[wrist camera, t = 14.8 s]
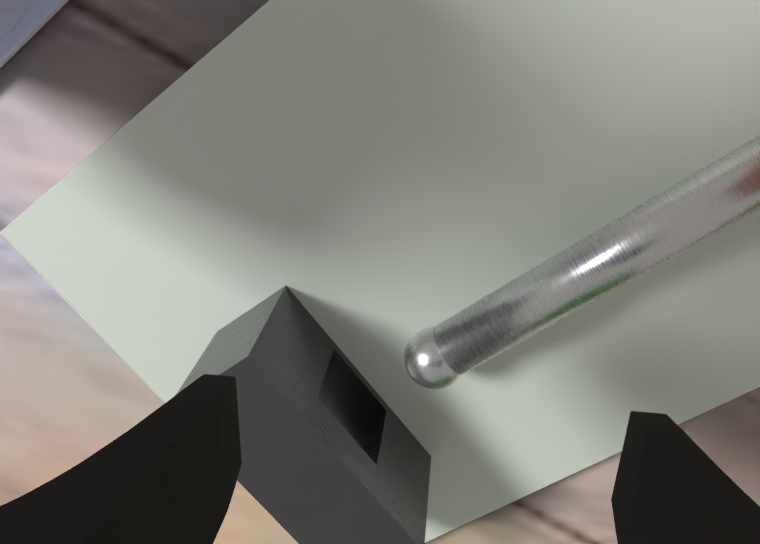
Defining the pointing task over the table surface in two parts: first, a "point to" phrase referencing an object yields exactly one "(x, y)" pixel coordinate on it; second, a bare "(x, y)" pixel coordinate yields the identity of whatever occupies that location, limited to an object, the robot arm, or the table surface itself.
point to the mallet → (590, 268)
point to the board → (432, 213)
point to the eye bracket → (317, 432)
